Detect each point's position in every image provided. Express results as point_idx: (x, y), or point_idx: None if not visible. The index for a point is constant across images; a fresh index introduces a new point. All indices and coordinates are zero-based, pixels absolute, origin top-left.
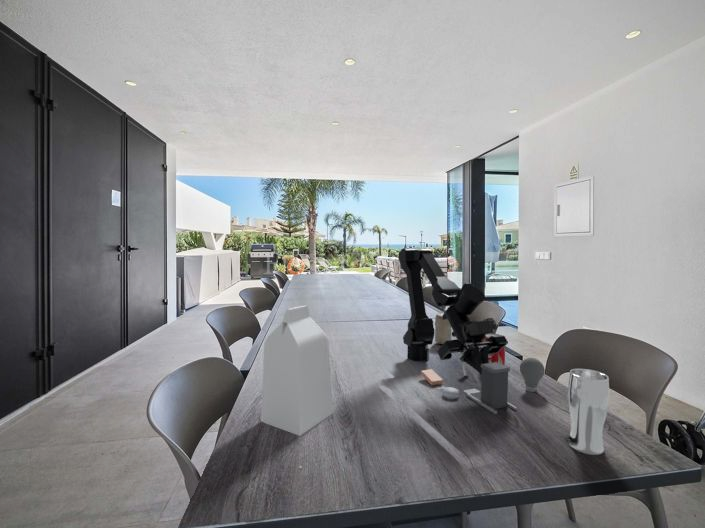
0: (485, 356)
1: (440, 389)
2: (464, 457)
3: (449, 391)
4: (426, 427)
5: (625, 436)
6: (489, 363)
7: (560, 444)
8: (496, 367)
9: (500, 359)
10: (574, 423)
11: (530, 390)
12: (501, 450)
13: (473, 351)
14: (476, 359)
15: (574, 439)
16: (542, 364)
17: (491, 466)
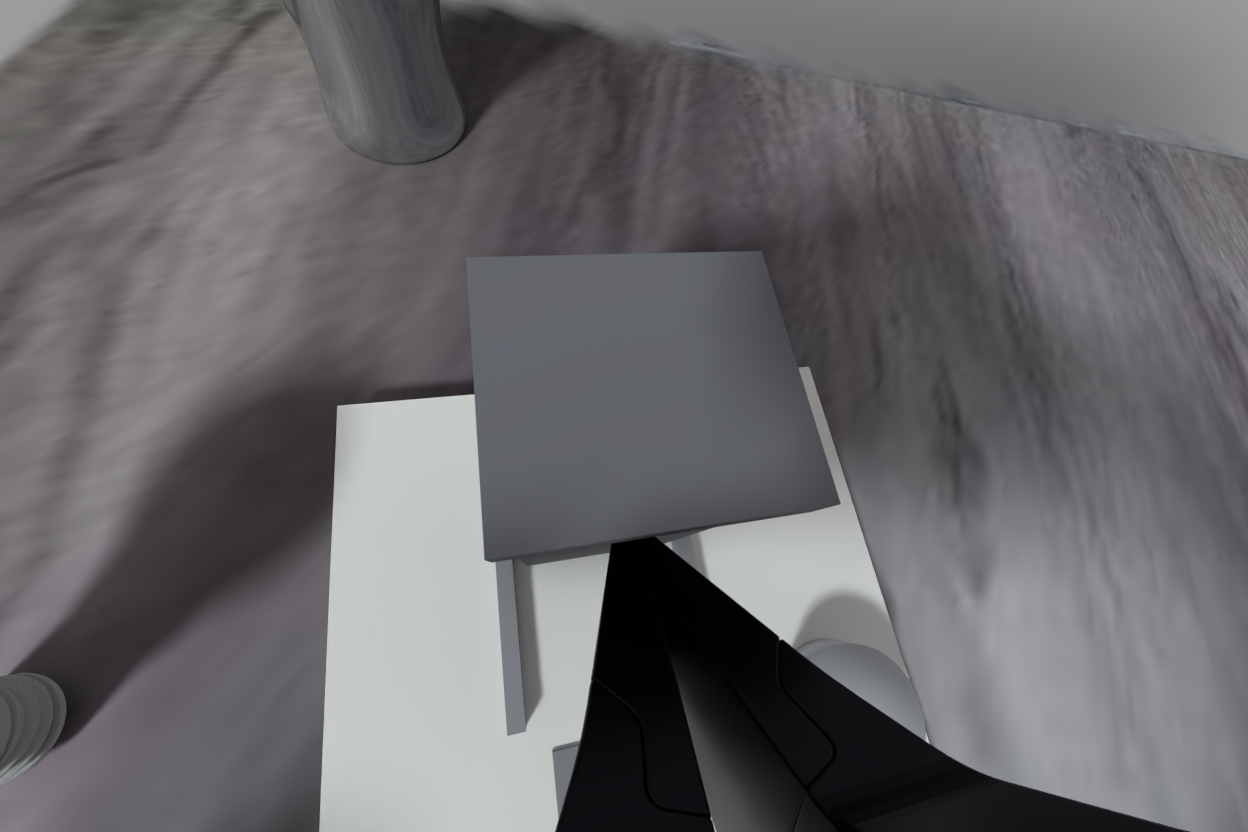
0: (642, 818)
1: None
2: (891, 202)
3: (879, 697)
4: (996, 403)
5: (101, 106)
6: (679, 501)
7: (492, 156)
8: (663, 316)
9: None
10: (438, 4)
11: (12, 704)
12: (751, 194)
13: (1152, 825)
14: (874, 714)
15: (454, 85)
16: None
17: (823, 147)
